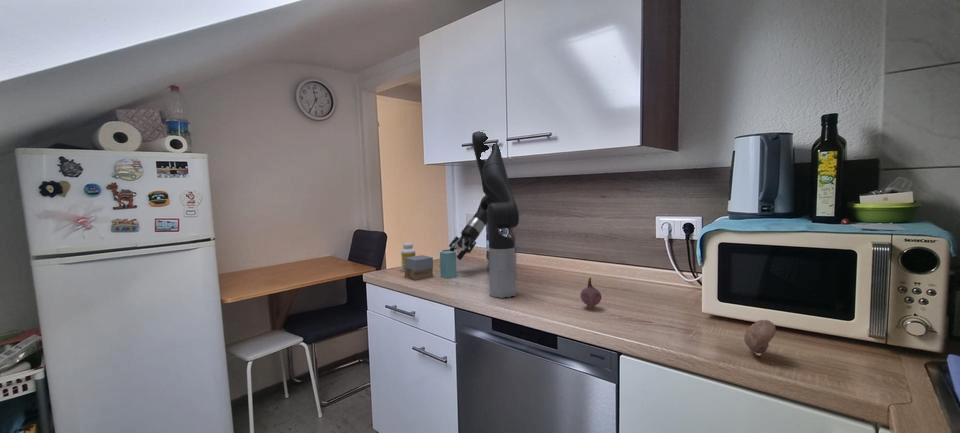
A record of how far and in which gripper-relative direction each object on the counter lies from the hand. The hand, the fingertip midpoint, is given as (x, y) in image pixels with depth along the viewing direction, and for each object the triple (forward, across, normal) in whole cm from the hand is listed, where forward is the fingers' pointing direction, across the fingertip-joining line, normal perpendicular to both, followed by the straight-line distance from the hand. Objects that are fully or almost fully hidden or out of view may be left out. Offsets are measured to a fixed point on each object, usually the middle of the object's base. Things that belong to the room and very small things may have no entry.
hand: (453, 257), depth 161 cm
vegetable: (0, +66, +11) cm, 67 cm away
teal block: (+8, 0, +4) cm, 9 cm away
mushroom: (0, +109, +11) cm, 110 cm away
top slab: (+12, -8, -6) cm, 16 cm away
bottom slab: (+15, -9, -3) cm, 18 cm away
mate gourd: (-1, -18, +13) cm, 22 cm away
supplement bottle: (+13, -24, -1) cm, 27 cm away
